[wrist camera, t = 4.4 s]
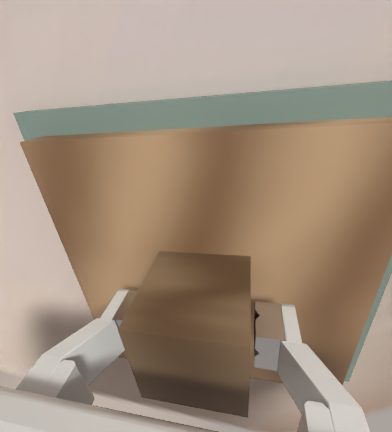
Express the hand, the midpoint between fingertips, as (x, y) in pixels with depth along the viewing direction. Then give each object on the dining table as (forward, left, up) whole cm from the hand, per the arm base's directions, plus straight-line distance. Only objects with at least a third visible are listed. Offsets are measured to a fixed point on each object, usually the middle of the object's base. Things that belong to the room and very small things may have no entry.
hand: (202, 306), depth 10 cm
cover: (0, 0, -2) cm, 2 cm away
